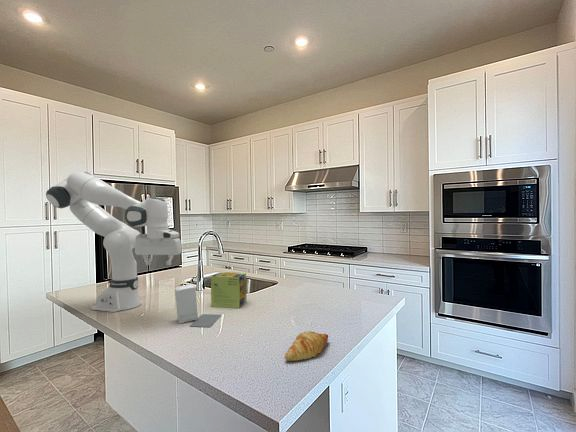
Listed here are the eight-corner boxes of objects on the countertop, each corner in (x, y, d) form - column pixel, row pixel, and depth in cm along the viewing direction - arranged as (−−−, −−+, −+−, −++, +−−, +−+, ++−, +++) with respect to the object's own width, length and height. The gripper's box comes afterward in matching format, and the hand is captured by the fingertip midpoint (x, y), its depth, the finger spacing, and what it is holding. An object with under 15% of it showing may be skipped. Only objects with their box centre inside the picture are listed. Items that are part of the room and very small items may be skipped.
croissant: (292, 377, 94) (300, 359, 91) (272, 353, 100) (279, 335, 97) (332, 352, 109) (340, 336, 106) (313, 332, 115) (320, 316, 112)
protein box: (239, 308, 148) (239, 277, 147) (210, 306, 151) (210, 276, 150) (247, 301, 158) (246, 272, 157) (219, 300, 161) (219, 271, 161)
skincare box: (196, 315, 137) (194, 283, 136) (198, 320, 132) (196, 286, 131) (176, 319, 134) (174, 286, 133) (178, 324, 128) (175, 289, 127)
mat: (189, 326, 125) (189, 326, 125) (202, 314, 139) (202, 314, 139) (210, 327, 124) (210, 326, 124) (221, 315, 138) (221, 314, 138)
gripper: (131, 234, 131) (132, 266, 131) (176, 234, 129) (177, 266, 129) (139, 233, 137) (140, 263, 137) (182, 233, 135) (183, 263, 135)
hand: (158, 264), depth 133 cm, fingers open, 8 cm apart
